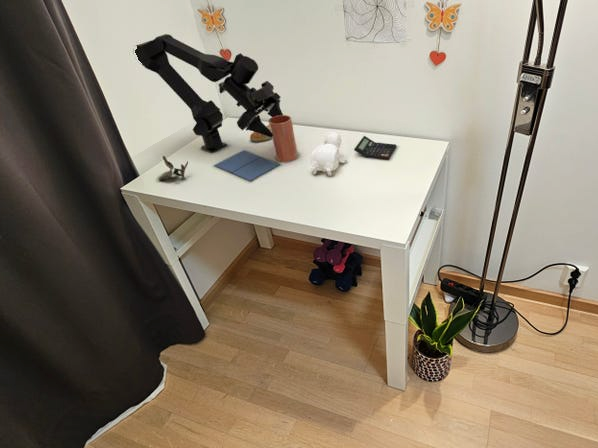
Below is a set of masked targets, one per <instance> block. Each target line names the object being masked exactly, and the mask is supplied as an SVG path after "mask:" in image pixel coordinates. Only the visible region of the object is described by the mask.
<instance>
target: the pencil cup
mask: <svg viewBox="0 0 598 448" xmlns="http://www.w3.org/2000/svg"><path fill="white" fill-rule="evenodd" d="M268 125H269V126H270V131H271V133H272V134H273V137H272V138H271V140H272V144H273V149H274V153H275V154H274V155H275V158H276V160H277V161H278V162H283V163H287V162H292V161H295V160H296V159H297V158H298V157H299V154H298V153H299V152H298V146H297V143H296V137H295V130H294V125H293V119H292V116H290V115H287V114H283V115H278V116H274V117H270V118H269V119H268Z"/></svg>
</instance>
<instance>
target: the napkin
mask: <svg viewBox="0 0 598 448" xmlns="http://www.w3.org/2000/svg"><path fill="white" fill-rule="evenodd" d="M279 166H280V163H279V162H276V161H273V160H270V159H268V158H265V157H262V156H261V155H260V156H259V155H257V154H254V153H252V152H249V151H246V150H242V151H240V152H237V153H236V154H233V155H231V156H230V157H228V158H225V159H223V160H222V161H219V162H217V163H216V164H214V167H216V168H218V169H221V170H222V171H225V172H227V173H231V174H232V175H234V176H237V177H239V178H241V179H243V180H245V181H248V182H252V181H254V180H256V179H258V178H259V177H261V176H263V175H265V174H266V173H268V172H270V171H272V170H274V169H275V168H277V167H279Z"/></svg>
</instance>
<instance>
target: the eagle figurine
mask: <svg viewBox="0 0 598 448" xmlns="http://www.w3.org/2000/svg"><path fill="white" fill-rule="evenodd" d="M162 159H163V161H164V164H165V166H166V167H167V168H169V170H167V171H165V172H163V173H162V174H161V176H159V177H158V181H161V180H168V179H169V178H170V177H174V175H175V176H178V177H181V179H182V180H185V172H186V169H187V167H188V165H189V161H188V160H187V161H186V163H185V165H184V164H180V168H176V167H175V166H174V164H172V162H170V161H168V159H167V158H166V156H165V155H162Z"/></svg>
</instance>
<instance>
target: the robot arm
mask: <svg viewBox="0 0 598 448" xmlns="http://www.w3.org/2000/svg"><path fill="white" fill-rule="evenodd" d="M135 46H137V49H136V50H135V53H136V55H137V57H138V60H139V61H140V62H141V63H142V64H141V63H140V64H141V65H142V67H144V68H145V69H146V70H149V71H151V72H153V73H156V74H157V75H158V76H159V77H160V78H161V79H162V80H163V82H165V84H166V85H168V87H170V89H171V90H172V91H173V92H174V93H175V94H176V95H177V96H178V97H179V98H180V100H181V101H183V103H184V104H185V105H186V106H187V107H188V108H189V109H190V112H191V115H192V119H193V120H194V122H195V125H194V126H193V128H192V131H193V133H194V135H195V136H199V137H201V138H202V141H203V144H204V145H201V149H202V150H205V151H207V152H209V153H214V152H216V151H218V150H220V149H223V148H224V147H226V146H228V144H227V143H225V142H223V140H222V137H221V134H220V131H219V128H222V127H223V122H224V121H223V120H224V117H223V116H224V115H223V112H222V111H221V108H219V107H218V106H217V104H216V103H215V102H214V101H213V100H212V99H211V100H208V101H207V100H204V99H202V98H201V96H200V95H199V94H198V93H197V92H196V91H195V90H194V88H193V87H191V85H190V84H189V82H187V81H186V80H185V79H184V78H183V77H182V76H181V74H180V73H178V71H177V70H176V69H175V68H174V67H173V66H172V65H171V64H170V60H169V56H168V54H169V55H171V56H172V57H175V58H176V59H179V60H181V61H182V62H184V63H186V64H188V65H190V66H192V67H194V68H196V69H197V71H199V73H200V75H201V76H203V77H204V78H206V79H207V80H208V81H210V82H211V83H217V82H219V81H221V80H223V79H224V80H223V81H222V82H220V83H218V91H219V94H224V93H225V92H226V93H227V94H229V95H230V96H231V97H232V98H233V99H234V100H235V101H236V104H235V106H237V107H239V108H240V107H242V108H243V109H244V110H245V111H244V112H243V113H242V114H241V116H239V118H238V119H237V121H236V125H237V127H238V128H239V129H240V130H241V131H244V130H245V131H250V132H257V133H260V134H263V135H266V136H269V137H273V134H272V133H271V131H270V130H269V129H268V128H267V127H266V126H267V125H265V124H264V123H263V121H262V119H261V116H260V114H261V113H263V112H267V115H268V116H270V118H272V117H274V116H278V115H284V113H283V111H282V110H281V107H280V106H281V98H282V97H281V95H279V94H278V92H274V90H275V89H274V85H273V84H272V83H271V82H269V81H268V80H265V81H264V82H262V83H261V84H260V85H261V87H259V89H256V88H255V87H251V88H250V87H249V86H248V85H247V84H250V82H251V81H252V79H253V78H254V77H255V75H256V74H257V72H258V71H259V65H258V63H257V62H256V60H254V59H253V58H251V57H249V56H247V55H243V54H242V53H241V52H240V53H237V54H236V55H235V57H234V60H233V61H230V60H227V59H226V58H224V57H222V56H219V55H216V54H209V53H204V52H202V51H200V50H198V49H196V48H194V47H192V46H190V45H188V44H186V43H184V42H182V41H180V40H178V39H176V38H174V37H173V35H172V34H167V33H164V34H162V35H159V36H155V38H154V39H152V40H151V39H150V40H148V41H145V42H142V43H139V44H136V45H135Z"/></svg>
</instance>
